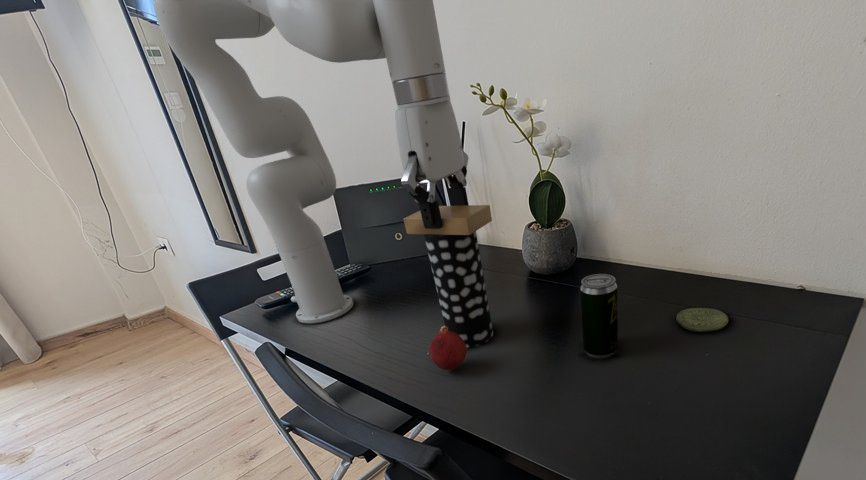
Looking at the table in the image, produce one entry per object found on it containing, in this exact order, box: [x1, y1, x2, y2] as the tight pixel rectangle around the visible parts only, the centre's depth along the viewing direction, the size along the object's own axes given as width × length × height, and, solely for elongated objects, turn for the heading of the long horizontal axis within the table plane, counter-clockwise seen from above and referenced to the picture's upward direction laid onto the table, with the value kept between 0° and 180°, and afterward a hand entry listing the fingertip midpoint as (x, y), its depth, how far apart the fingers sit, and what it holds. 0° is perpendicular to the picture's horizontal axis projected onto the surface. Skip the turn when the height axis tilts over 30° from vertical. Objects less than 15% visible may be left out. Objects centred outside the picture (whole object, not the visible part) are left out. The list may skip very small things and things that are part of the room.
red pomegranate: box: [429, 325, 468, 372], centre depth 74 cm, size 6×6×8 cm
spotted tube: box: [423, 231, 494, 349], centre depth 80 cm, size 8×8×20 cm
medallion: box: [675, 307, 729, 333], centre depth 77 cm, size 8×8×1 cm
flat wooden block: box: [403, 204, 493, 235], centre depth 74 cm, size 12×7×2 cm, turn 61°
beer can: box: [579, 273, 619, 359], centre depth 72 cm, size 5×5×12 cm
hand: (447, 219), depth 74 cm, fingers closed on flat wooden block, 7 cm apart
